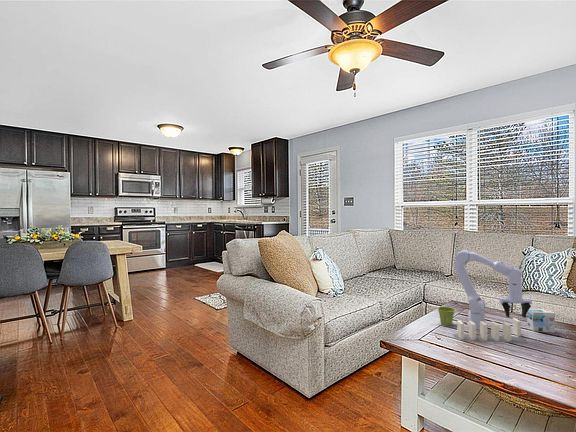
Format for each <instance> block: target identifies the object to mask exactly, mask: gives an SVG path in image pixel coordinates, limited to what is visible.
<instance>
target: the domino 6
mask: <svg viewBox="0 0 576 432" xmlns="http://www.w3.org/2000/svg"><path fill="white" fill-rule="evenodd" d="M512 333H513V334H514V335H515V336H516V337H522V323H521V320H519V319H518V318H516V317H513V318H512Z"/></svg>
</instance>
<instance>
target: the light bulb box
mask: <svg viewBox="0 0 576 432" xmlns="http://www.w3.org/2000/svg"><path fill="white" fill-rule="evenodd" d="M526 317H527V319H526V321H527V322H526V323H527V325H526V326H527V328H528V329H529V330H531V331H533V332H541V333H556V312H554V311H552V310H551V309H547V308H545V309H544V308H529V310H528V312H527V314H526Z"/></svg>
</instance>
